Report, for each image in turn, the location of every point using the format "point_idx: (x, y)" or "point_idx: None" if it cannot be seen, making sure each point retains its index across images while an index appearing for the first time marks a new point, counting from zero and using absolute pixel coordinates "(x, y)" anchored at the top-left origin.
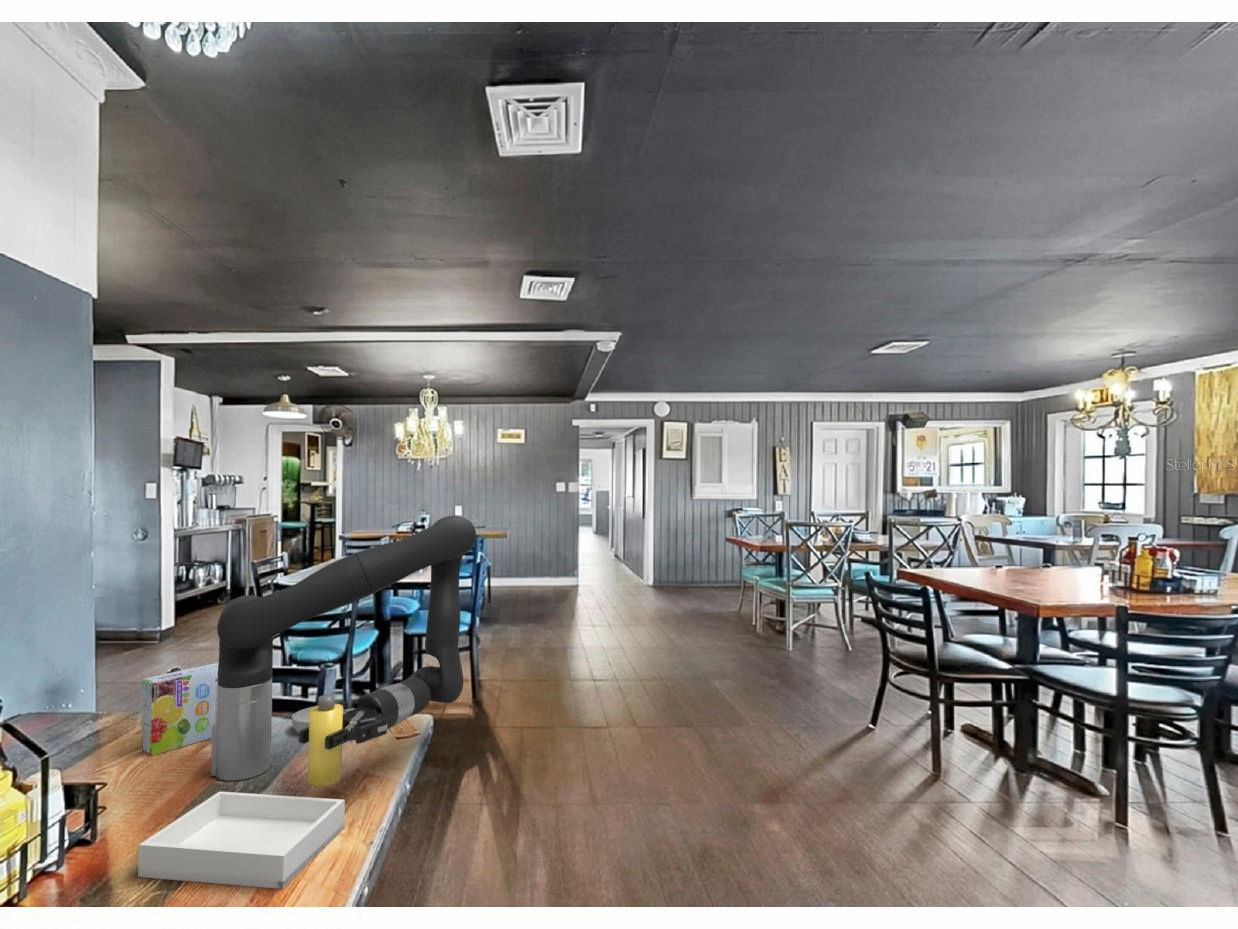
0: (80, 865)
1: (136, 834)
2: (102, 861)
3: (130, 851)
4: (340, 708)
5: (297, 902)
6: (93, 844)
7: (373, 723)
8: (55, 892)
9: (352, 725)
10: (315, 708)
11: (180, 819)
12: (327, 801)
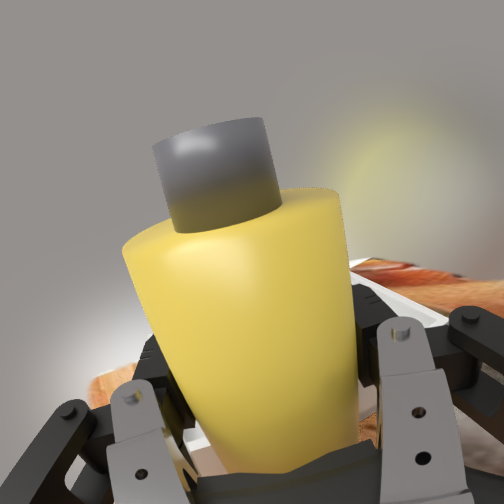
0: (412, 274)
1: (456, 298)
2: (408, 283)
3: (414, 296)
4: (135, 248)
5: (132, 367)
6: (454, 277)
7: (18, 485)
8: (371, 268)
9: (126, 419)
10: (295, 193)
11: (376, 287)
12: (199, 439)
